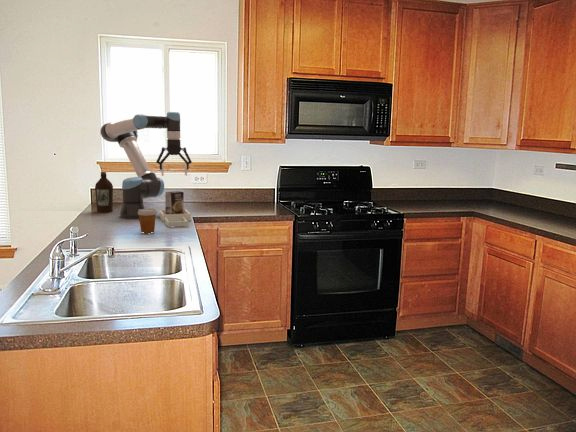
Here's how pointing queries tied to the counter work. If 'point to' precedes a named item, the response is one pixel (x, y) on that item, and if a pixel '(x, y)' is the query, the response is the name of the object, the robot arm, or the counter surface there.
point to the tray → (176, 221)
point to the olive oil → (104, 194)
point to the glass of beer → (147, 220)
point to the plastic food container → (174, 215)
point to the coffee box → (174, 202)
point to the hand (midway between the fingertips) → (174, 175)
